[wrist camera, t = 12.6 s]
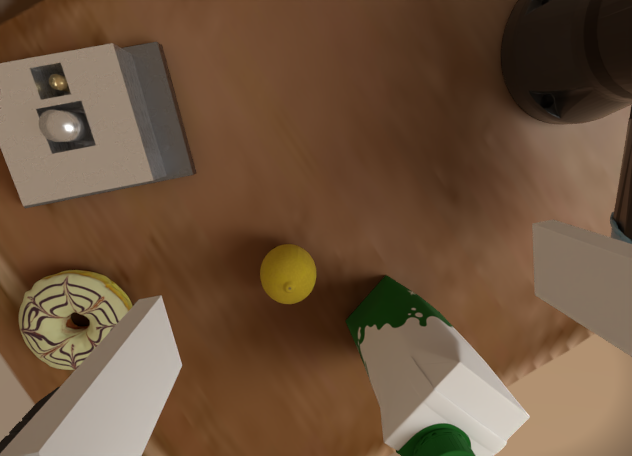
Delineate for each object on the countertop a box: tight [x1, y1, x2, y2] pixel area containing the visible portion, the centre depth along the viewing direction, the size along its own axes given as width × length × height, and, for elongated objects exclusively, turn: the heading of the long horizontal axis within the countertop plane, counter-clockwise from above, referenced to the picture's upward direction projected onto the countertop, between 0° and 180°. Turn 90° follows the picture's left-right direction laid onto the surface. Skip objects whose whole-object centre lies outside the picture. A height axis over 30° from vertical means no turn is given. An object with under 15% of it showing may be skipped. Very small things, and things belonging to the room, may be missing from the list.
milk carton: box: [346, 275, 530, 456], centre depth 34 cm, size 9×9×20 cm
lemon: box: [260, 244, 316, 304], centre depth 37 cm, size 6×6×8 cm
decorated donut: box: [19, 270, 133, 370], centre depth 39 cm, size 10×11×4 cm
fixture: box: [24, 42, 196, 208], centre depth 33 cm, size 16×12×7 cm
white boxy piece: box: [0, 43, 166, 206], centre depth 33 cm, size 11×11×4 cm
